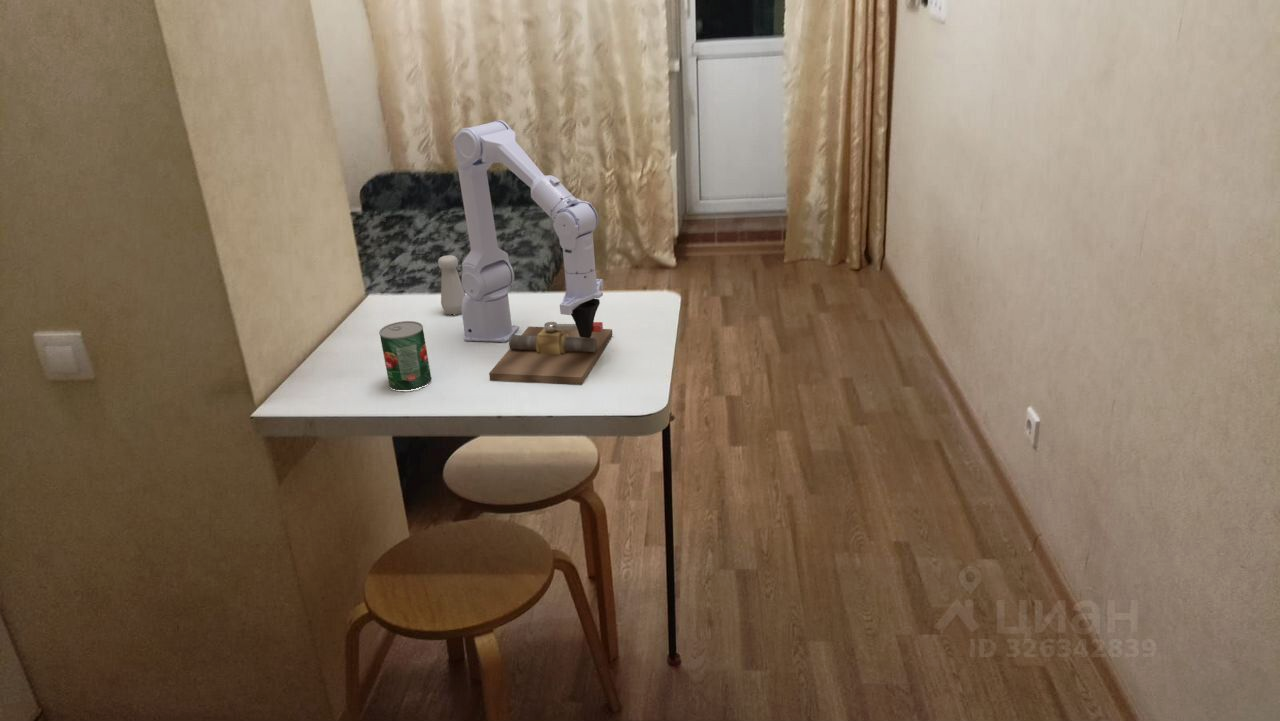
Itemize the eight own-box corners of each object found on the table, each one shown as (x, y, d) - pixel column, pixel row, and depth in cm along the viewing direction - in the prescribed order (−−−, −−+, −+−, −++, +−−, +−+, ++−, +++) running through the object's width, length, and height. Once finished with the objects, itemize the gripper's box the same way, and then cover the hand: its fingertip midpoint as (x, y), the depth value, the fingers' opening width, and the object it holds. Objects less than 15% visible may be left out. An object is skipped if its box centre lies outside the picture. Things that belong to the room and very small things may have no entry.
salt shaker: (456, 305, 211) (448, 251, 206) (474, 310, 208) (466, 254, 202) (437, 314, 207) (428, 258, 201) (455, 318, 204) (446, 262, 198)
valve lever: (546, 327, 180) (546, 321, 180) (603, 327, 178) (602, 321, 178) (543, 332, 178) (543, 326, 177) (600, 332, 176) (600, 326, 176)
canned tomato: (440, 380, 174) (431, 326, 170) (406, 395, 169) (396, 340, 165) (414, 370, 179) (405, 317, 175) (380, 385, 174) (370, 331, 169)
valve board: (489, 380, 173) (486, 353, 171) (529, 333, 193) (526, 308, 191) (582, 384, 169) (579, 357, 167) (612, 335, 189) (610, 310, 187)
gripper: (582, 283, 163) (588, 353, 169) (615, 258, 175) (620, 324, 181) (547, 280, 166) (553, 349, 171) (582, 256, 178) (587, 321, 183)
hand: (585, 336), depth 176 cm, fingers closed
